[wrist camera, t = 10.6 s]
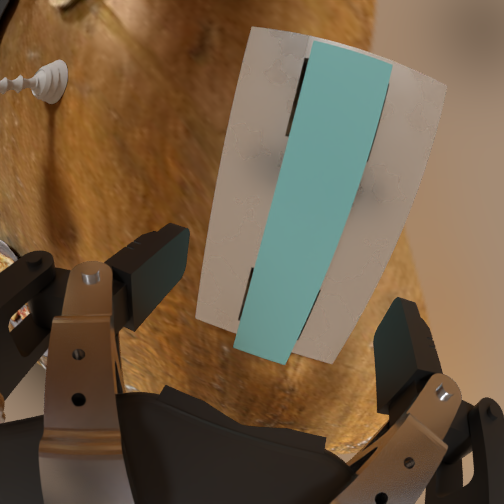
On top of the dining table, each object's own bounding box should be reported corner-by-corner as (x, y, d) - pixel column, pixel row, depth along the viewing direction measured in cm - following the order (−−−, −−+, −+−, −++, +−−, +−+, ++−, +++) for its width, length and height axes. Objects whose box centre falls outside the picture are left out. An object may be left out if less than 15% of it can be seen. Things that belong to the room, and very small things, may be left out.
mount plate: (263, 39, 16) (251, 26, 13) (431, 90, 14) (447, 85, 11) (208, 298, 26) (195, 318, 23) (333, 340, 24) (332, 364, 22)
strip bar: (318, 62, 15) (313, 40, 11) (376, 80, 15) (393, 64, 10) (251, 306, 25) (232, 347, 20) (295, 321, 24) (284, 365, 20)
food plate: (58, 367, 46) (48, 376, 43) (-4, 290, 44) (-15, 298, 41) (74, 308, 35) (59, 321, 32) (-3, 208, 33) (-18, 215, 30)
